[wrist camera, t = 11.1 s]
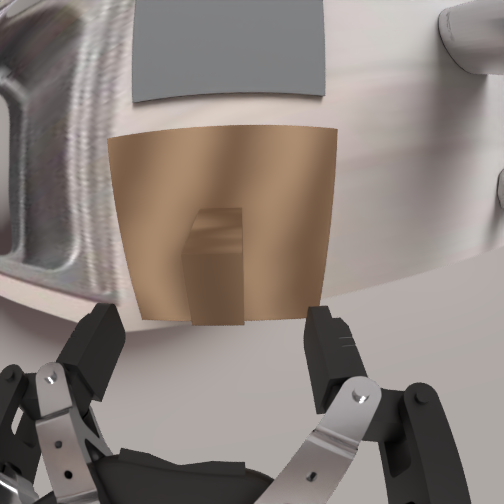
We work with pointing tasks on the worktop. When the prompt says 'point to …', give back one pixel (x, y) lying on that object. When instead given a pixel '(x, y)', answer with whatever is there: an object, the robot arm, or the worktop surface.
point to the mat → (227, 47)
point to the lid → (225, 220)
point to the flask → (501, 189)
